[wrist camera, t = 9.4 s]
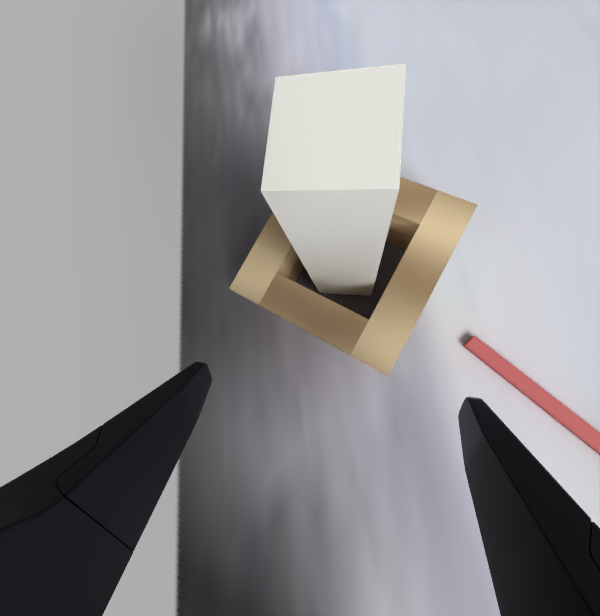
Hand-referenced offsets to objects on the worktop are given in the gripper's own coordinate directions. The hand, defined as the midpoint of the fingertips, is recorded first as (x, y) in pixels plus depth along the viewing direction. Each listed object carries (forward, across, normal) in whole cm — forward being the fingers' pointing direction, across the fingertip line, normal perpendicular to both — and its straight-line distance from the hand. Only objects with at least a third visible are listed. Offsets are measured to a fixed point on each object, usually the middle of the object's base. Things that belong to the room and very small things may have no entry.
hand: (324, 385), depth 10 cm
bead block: (+11, 0, +1) cm, 11 cm away
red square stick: (+5, -13, +7) cm, 16 cm away
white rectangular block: (+11, 0, +1) cm, 11 cm away
